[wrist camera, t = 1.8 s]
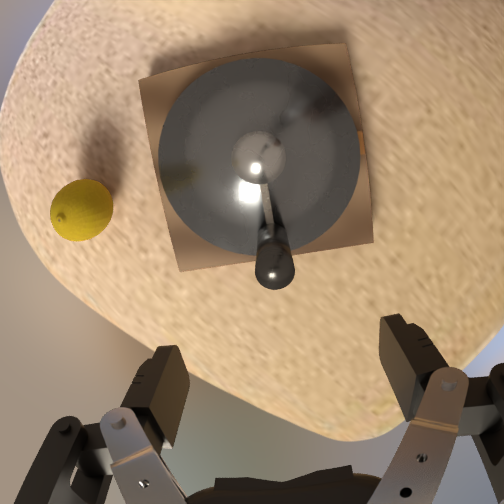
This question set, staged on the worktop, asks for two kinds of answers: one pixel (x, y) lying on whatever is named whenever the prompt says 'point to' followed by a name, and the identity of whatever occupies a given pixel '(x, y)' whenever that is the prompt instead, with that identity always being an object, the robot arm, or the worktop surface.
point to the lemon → (81, 210)
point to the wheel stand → (308, 57)
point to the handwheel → (259, 161)
